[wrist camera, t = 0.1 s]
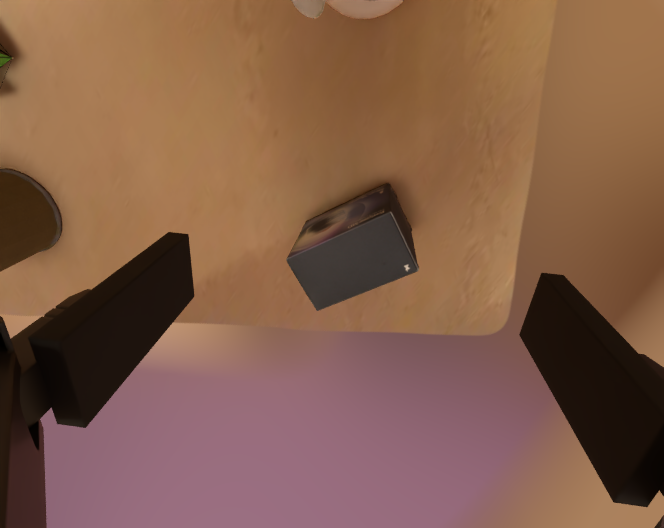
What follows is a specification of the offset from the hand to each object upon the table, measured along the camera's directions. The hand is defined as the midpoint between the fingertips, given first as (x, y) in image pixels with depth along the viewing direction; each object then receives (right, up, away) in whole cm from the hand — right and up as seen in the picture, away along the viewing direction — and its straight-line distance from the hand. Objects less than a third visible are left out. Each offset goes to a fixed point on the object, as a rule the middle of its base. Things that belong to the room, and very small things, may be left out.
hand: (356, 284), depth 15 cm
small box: (+2, +5, +29) cm, 29 cm away
